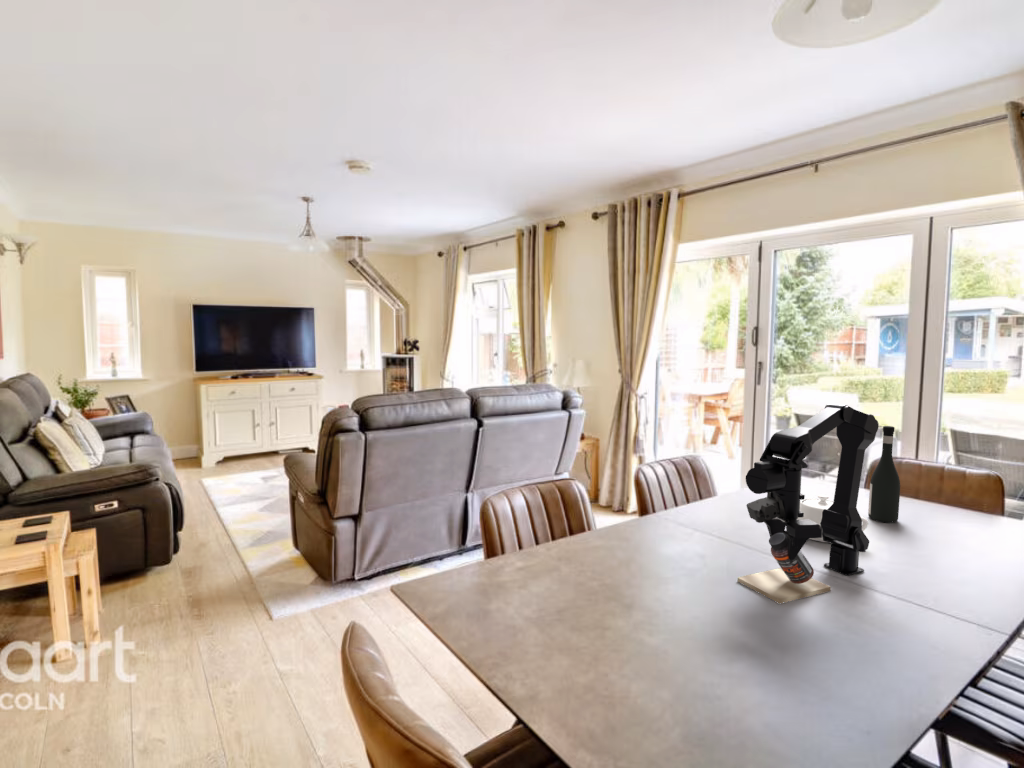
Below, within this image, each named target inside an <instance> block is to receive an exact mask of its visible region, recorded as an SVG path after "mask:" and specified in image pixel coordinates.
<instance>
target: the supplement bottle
mask: <svg viewBox="0 0 1024 768" xmlns="http://www.w3.org/2000/svg"><path fill="white" fill-rule="evenodd" d="M768 544H769V545H770V552H771V553H770V554H771V555H772V557H773V558H774V560H775V561H776V562H777V564H778V566H779V568H782V570H783V571H784V573H785V574H786V576H787V577H788V579H789V580H790V581H791V582H793V583H796V584H801V583H805V582H807V581H808V580H810V579H811V578H813V576H814V574H815V573H814V572H815V570H814V568H813V567H812V564H811V563H810V562H809V560H808V558H806V556H805V554H804V553H803V551H802V549H801V550H800V552H799V553H798V555H797V556H796V558H795V559H794V560H789V557H788V545H787V537H786V536H785V535H784V534H783V533H776V534H774V535H772V536H771V537H770V536H769V539H768Z"/></svg>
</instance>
